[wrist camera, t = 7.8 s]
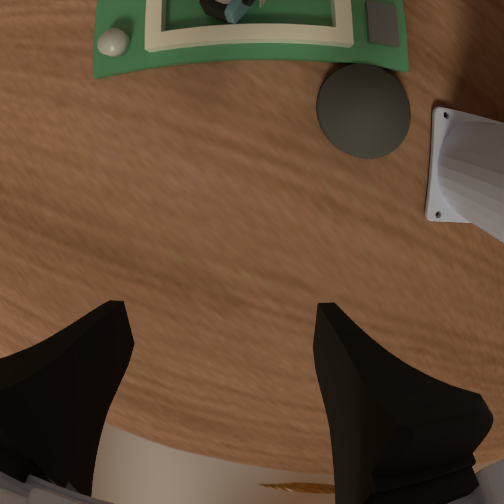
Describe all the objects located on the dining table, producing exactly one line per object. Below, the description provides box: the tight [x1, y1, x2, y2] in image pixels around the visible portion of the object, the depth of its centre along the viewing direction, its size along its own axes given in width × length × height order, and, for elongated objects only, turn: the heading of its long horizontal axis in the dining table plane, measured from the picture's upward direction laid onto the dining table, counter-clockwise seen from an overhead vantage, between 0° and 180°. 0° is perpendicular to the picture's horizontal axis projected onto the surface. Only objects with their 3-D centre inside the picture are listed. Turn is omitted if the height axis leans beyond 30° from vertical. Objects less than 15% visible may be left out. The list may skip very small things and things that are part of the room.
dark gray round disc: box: [316, 64, 411, 159], centre depth 17 cm, size 6×6×1 cm
